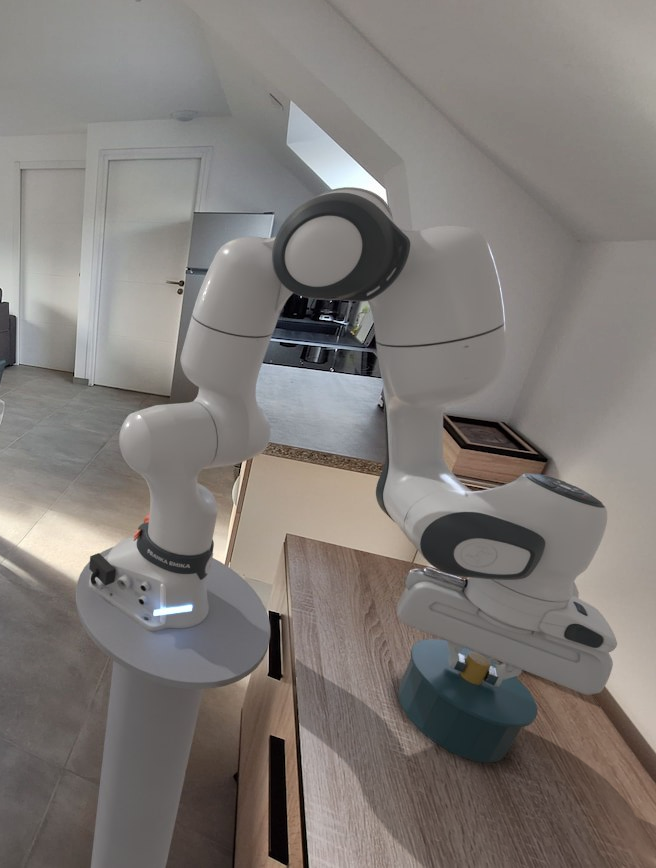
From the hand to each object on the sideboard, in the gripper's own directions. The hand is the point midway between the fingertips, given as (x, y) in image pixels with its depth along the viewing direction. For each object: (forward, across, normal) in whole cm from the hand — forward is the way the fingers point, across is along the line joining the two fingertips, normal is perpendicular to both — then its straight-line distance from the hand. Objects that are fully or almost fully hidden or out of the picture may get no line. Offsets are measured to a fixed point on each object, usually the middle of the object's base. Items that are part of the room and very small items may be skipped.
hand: (472, 673), depth 63 cm
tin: (+9, 0, 0) cm, 9 cm away
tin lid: (+1, 0, 0) cm, 1 cm away
